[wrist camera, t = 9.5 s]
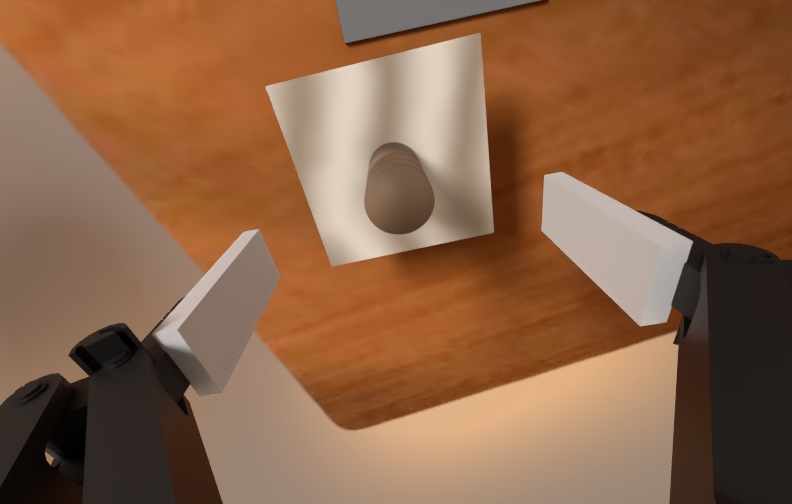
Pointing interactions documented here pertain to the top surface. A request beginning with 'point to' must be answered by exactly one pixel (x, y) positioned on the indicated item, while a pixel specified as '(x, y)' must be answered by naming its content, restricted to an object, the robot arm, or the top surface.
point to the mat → (408, 14)
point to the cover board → (391, 114)
